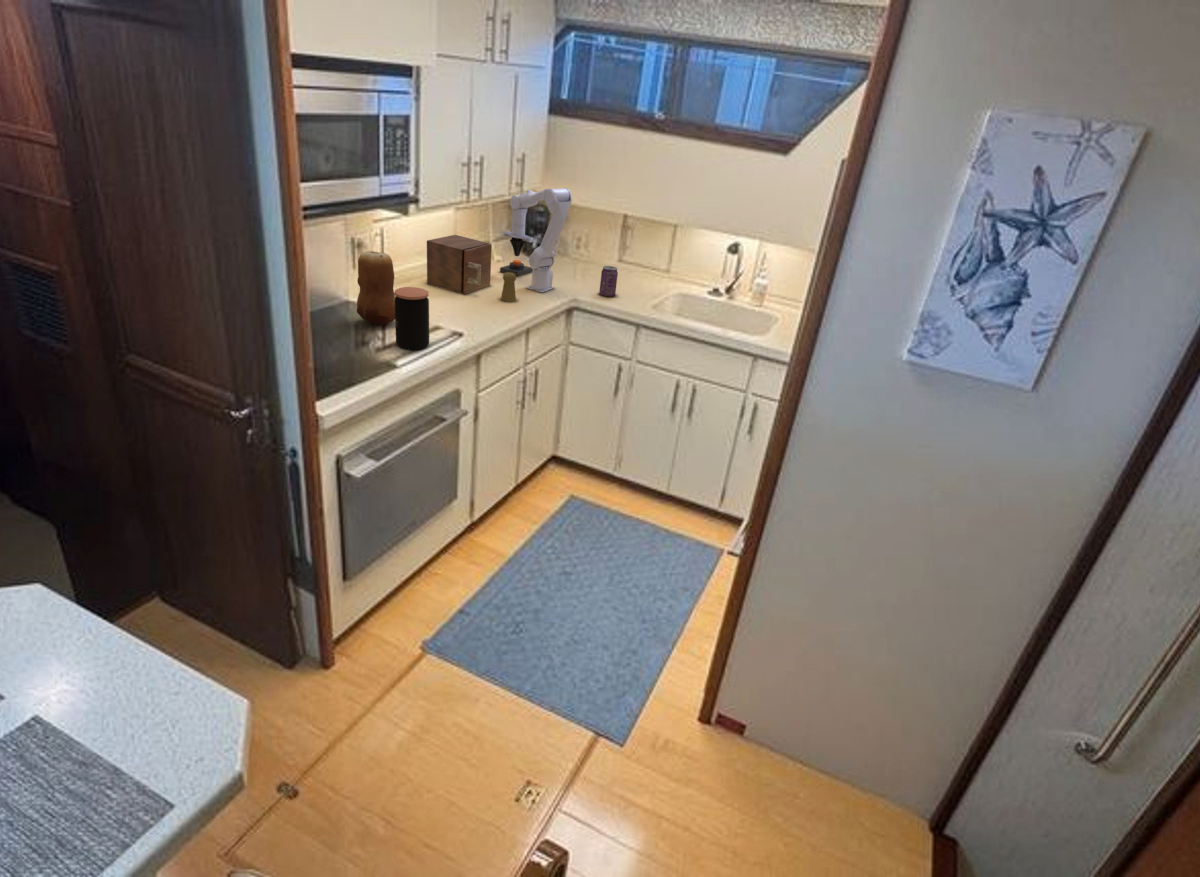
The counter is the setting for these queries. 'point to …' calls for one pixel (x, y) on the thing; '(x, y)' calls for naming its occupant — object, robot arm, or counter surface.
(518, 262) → the button
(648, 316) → the counter surface
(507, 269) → the switch block
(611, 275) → the beverage can
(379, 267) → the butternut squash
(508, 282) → the pepper shaker
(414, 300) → the coffee jar
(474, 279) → the door
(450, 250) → the cupboard
